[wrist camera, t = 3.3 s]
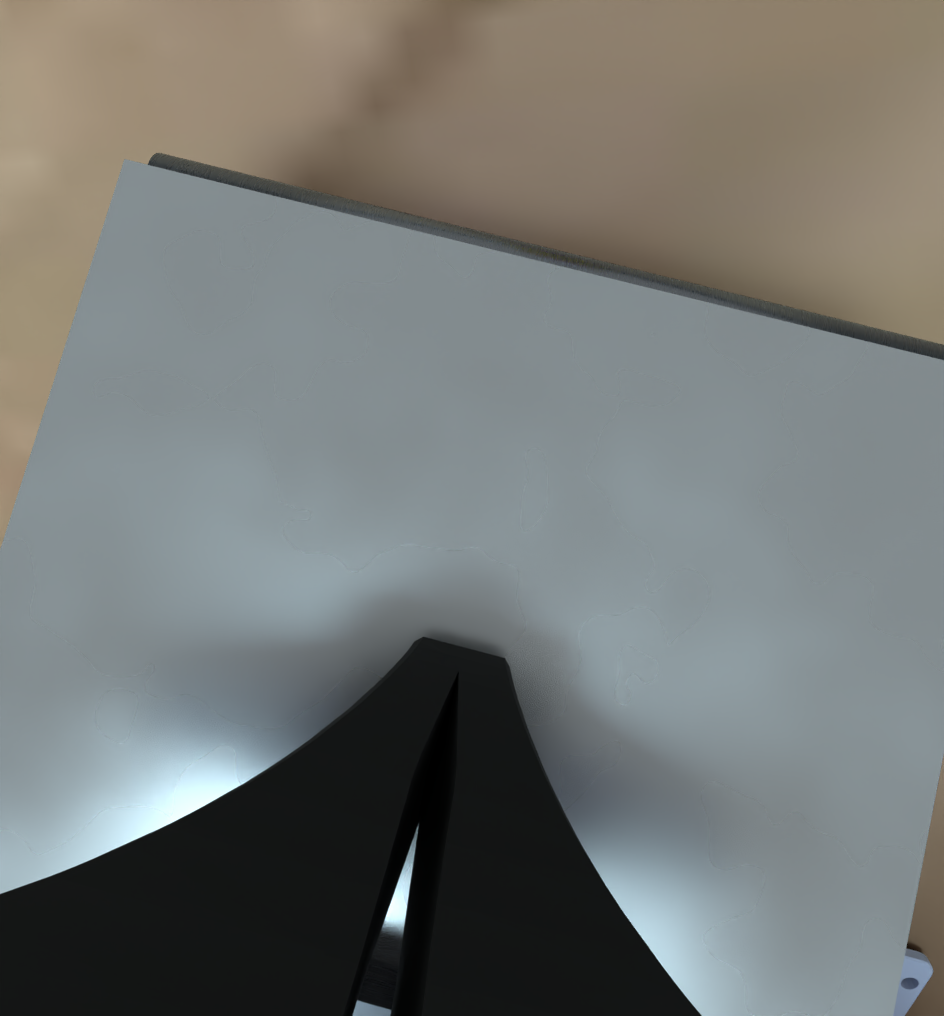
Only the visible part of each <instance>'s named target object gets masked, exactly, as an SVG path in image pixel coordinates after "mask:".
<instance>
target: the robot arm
mask: <svg viewBox="0 0 944 1016" xmlns="http://www.w3.org/2000/svg"><path fill="white" fill-rule="evenodd" d="M418 824H419V826H418ZM417 827H418V833H417V840H416V847H415V854H414V861H413V868H412V875H411V882H410V889H409V896H408V903H407V910H406V917H405V924H404V931H403V938H402V945H401V952H400V959H399V966H398V973H397V981H396V987H395V993H394V998H393V1004H392V1009H391V1015H390V1016H702V1015H701V1014H700V1013H699V1012H698V1011H697V1009H696V1008H695V1007H694V1006H693V1005H692V1003H691V1002H690V1001H689V1000H688V999H687V997H686V996H685V995H684V994H683V992H682V991H681V990H680V988H679V987H678V986H677V985H676V983H675V982H674V981H673V979H672V978H671V977H670V976H669V974H668V973H667V972H666V970H665V969H664V968H663V966H662V965H661V963H660V962H659V961H658V959H657V958H656V957H655V955H654V954H653V952H652V951H651V950H650V948H649V947H648V946H647V944H646V943H645V941H644V940H643V939H642V937H641V936H640V934H639V933H638V932H637V930H636V929H635V928H634V926H633V925H632V923H631V922H630V921H629V919H628V918H627V916H626V915H625V914H624V912H623V911H622V910H621V908H620V906H619V905H618V903H617V902H616V900H615V899H614V897H613V896H612V894H611V892H610V891H609V889H608V888H607V886H606V885H605V883H604V882H603V880H602V878H601V877H600V875H599V873H598V872H597V870H596V868H595V867H594V865H593V863H592V861H591V860H590V858H589V856H588V855H587V853H586V851H585V850H584V848H583V846H582V844H581V842H580V841H579V839H578V837H577V835H576V833H575V832H574V830H573V828H572V826H571V824H570V822H569V820H568V818H567V816H566V814H565V812H564V810H563V808H562V806H561V804H560V802H559V800H558V798H557V796H556V794H555V792H554V790H553V787H552V785H551V783H550V781H549V779H548V776H547V774H546V772H545V770H544V767H543V765H542V763H541V760H540V758H539V755H538V753H537V750H536V748H535V745H534V743H533V740H532V738H531V735H530V733H529V730H528V727H527V725H526V722H525V719H524V716H523V713H522V710H521V707H520V704H519V701H518V698H517V694H516V691H515V687H514V683H513V679H512V675H511V671H510V666H509V665H508V663H507V661H506V659H505V658H503V657H499V656H495V655H492V654H488V653H484V652H480V651H476V650H472V649H469V648H465V647H461V646H457V645H453V644H450V643H446V642H442V641H438V640H434V639H431V638H427V637H422V638H420V639H418V640H416V641H414V643H413V644H412V645H411V647H410V648H409V649H408V651H407V652H406V653H405V654H404V655H403V657H402V658H401V659H400V660H399V661H398V662H397V663H396V664H395V665H394V667H393V668H392V669H391V670H390V671H389V672H388V673H387V674H386V675H385V676H384V677H383V678H382V679H381V680H380V681H379V682H378V683H376V684H375V685H374V686H373V687H372V688H371V689H370V690H369V691H368V692H367V693H365V694H364V695H363V696H362V697H361V698H360V699H359V700H358V701H357V702H356V703H355V704H353V705H352V706H351V707H350V708H349V709H348V710H346V711H345V712H344V713H343V714H341V715H340V716H339V717H338V718H336V719H335V720H334V721H333V722H331V723H330V724H329V725H327V726H326V727H325V728H324V729H322V730H321V731H320V732H319V733H317V734H316V735H315V736H313V737H312V738H311V739H310V740H308V741H307V742H306V743H304V744H303V745H301V746H300V747H299V748H297V749H296V750H294V751H293V752H291V753H290V754H289V755H287V756H286V757H284V758H283V759H281V760H280V761H278V762H277V763H275V764H274V765H272V766H271V767H269V768H267V769H266V770H264V771H263V772H261V773H260V774H258V775H256V776H255V777H253V778H252V779H250V780H248V781H247V782H245V783H243V784H242V785H240V786H238V787H236V788H235V789H233V790H231V791H229V792H227V793H226V794H224V795H222V796H220V797H219V798H217V799H215V800H213V801H212V802H210V803H208V804H206V805H205V806H203V807H201V808H199V809H197V810H195V811H193V812H192V813H190V814H188V815H186V816H184V817H182V818H180V819H178V820H176V821H174V822H172V823H170V824H168V825H166V826H164V827H162V828H160V829H158V830H155V831H153V832H151V833H149V834H146V835H144V836H142V837H140V838H138V839H135V840H133V841H131V842H129V843H127V844H124V845H122V846H120V847H118V848H116V849H113V850H111V851H109V852H107V853H105V854H102V855H100V856H98V857H96V858H94V859H91V860H89V861H87V862H84V863H82V864H79V865H77V866H75V867H72V868H70V869H67V870H65V871H62V872H59V873H57V874H54V875H52V876H49V877H46V878H44V879H41V880H38V881H35V882H32V883H30V884H27V885H24V886H21V887H18V888H15V889H13V890H10V891H7V892H4V893H1V894H0V1016H353V1013H354V1010H355V1006H356V1003H357V1000H358V997H359V994H360V990H361V987H362V984H363V981H364V977H365V974H366V972H367V969H368V966H369V963H370V960H371V957H372V955H373V952H374V949H375V946H376V943H377V940H378V938H379V935H380V932H381V929H382V926H383V923H384V921H385V918H386V915H387V912H388V909H389V906H390V904H391V901H392V898H393V895H394V892H395V889H396V887H397V884H398V881H399V878H400V875H401V872H402V869H403V867H404V864H405V861H406V858H407V855H408V852H409V850H410V847H411V844H412V841H413V838H414V835H415V832H416V830H417ZM932 973H933V968H932V966H931V964H930V962H929V960H928V958H927V957H926V956H925V955H924V954H923V953H920V952H918V951H914V950H910V949H907V948H906V952H905V957H904V962H903V967H902V972H901V978H900V983H899V988H898V993H897V998H896V1004H895V1009H894V1014H893V1016H905V1014H906V1013H907V1011H908V1010H909V1009H910V1007H911V1006H912V1004H913V1003H914V1001H915V1000H916V998H917V997H918V995H919V994H920V992H921V991H922V989H923V988H924V986H925V985H926V983H927V982H928V980H929V979H930V977H931V976H932Z"/></svg>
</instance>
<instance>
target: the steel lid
mask: <svg viewBox="0 0 944 1016" xmlns="http://www.w3.org/2000/svg"><path fill="white" fill-rule="evenodd" d="M422 637H427V638H431V639H434V640H438V641H442V642H446V643H450V644H453V645H457V646H461V647H465V648H469V649H472V650H476V651H480V652H484V653H488V654H492V655H495V656H499V657H503V658H505V659H506V661H507V663H508V665H509V666H510V671H511V675H512V679H513V683H514V687H515V691H516V694H517V698H518V701H519V704H520V707H521V710H522V713H523V716H524V719H525V722H526V725H527V727H528V730H529V733H530V735H531V738H532V740H533V743H534V745H535V748H536V750H537V753H538V755H539V758H540V760H541V763H542V765H543V767H544V770H545V772H546V774H547V776H548V779H549V781H550V783H551V785H552V787H553V790H554V792H555V794H556V796H557V798H558V800H559V802H560V804H561V806H562V808H563V810H564V812H565V814H566V816H567V818H568V820H569V822H570V824H571V826H572V828H573V830H574V832H575V833H576V835H577V837H578V839H579V841H580V842H581V844H582V846H583V848H584V850H585V851H586V853H587V855H588V856H589V858H590V860H591V861H592V863H593V865H594V867H595V868H596V870H597V872H598V873H599V875H600V877H601V878H602V880H603V882H604V883H605V885H606V886H607V888H608V889H609V891H610V892H611V894H612V896H613V897H614V899H615V900H616V902H617V903H618V905H619V906H620V908H621V910H622V911H623V912H624V914H625V915H626V916H627V918H628V919H629V921H630V922H631V923H632V925H633V926H634V928H635V929H636V930H637V932H638V933H639V934H640V936H641V937H642V939H643V940H644V941H645V943H646V944H647V946H648V947H649V948H650V950H651V951H652V952H653V954H654V955H655V957H656V958H657V959H658V961H659V962H660V963H661V965H662V966H663V968H664V969H665V970H666V972H667V973H668V974H669V976H670V977H671V978H672V979H673V981H674V982H675V983H676V985H677V986H678V987H679V988H680V990H681V991H682V992H683V994H684V995H685V996H686V997H687V999H688V1000H689V1001H690V1002H691V1003H692V1005H693V1006H694V1007H695V1008H696V1009H697V1011H698V1012H699V1013H700V1014H701V1015H702V1016H893V1014H894V1009H895V1004H896V998H897V993H898V988H899V983H900V978H901V972H902V967H903V962H904V957H905V952H906V947H907V941H908V936H909V931H910V926H911V921H912V915H913V910H914V905H915V900H916V895H917V889H918V884H919V879H920V874H921V869H922V864H923V858H924V853H925V848H926V843H927V838H928V832H929V827H930V822H931V817H932V812H933V807H934V801H935V796H936V791H937V786H938V781H939V775H940V770H941V765H942V760H943V755H944V345H942V344H938V343H934V342H930V341H926V340H922V339H918V338H914V337H910V336H906V335H902V334H898V333H893V332H889V331H885V330H881V329H877V328H873V327H869V326H865V325H861V324H857V323H853V322H849V321H844V320H840V319H836V318H832V317H828V316H824V315H820V314H816V313H812V312H808V311H804V310H800V309H795V308H791V307H787V306H783V305H779V304H775V303H771V302H767V301H763V300H759V299H755V298H750V297H746V296H742V295H738V294H734V293H730V292H726V291H722V290H718V289H714V288H710V287H706V286H701V285H697V284H693V283H689V282H685V281H681V280H677V279H673V278H669V277H665V276H661V275H657V274H652V273H648V272H644V271H640V270H636V269H632V268H628V267H624V266H620V265H616V264H612V263H608V262H603V261H599V260H595V259H591V258H587V257H583V256H579V255H575V254H571V253H567V252H563V251H558V250H554V249H550V248H546V247H542V246H538V245H534V244H530V243H526V242H522V241H518V240H514V239H509V238H505V237H501V236H497V235H493V234H489V233H485V232H481V231H477V230H473V229H469V228H465V227H460V226H456V225H452V224H448V223H444V222H440V221H436V220H432V219H428V218H424V217H420V216H415V215H411V214H407V213H403V212H399V211H395V210H391V209H387V208H383V207H379V206H375V205H371V204H366V203H362V202H358V201H354V200H350V199H346V198H342V197H338V196H334V195H330V194H326V193H322V192H317V191H313V190H309V189H305V188H301V187H297V186H293V185H289V184H285V183H281V182H277V181H273V180H268V179H264V178H260V177H256V176H252V175H248V174H244V173H240V172H236V171H232V170H228V169H223V168H219V167H215V166H211V165H207V164H203V163H199V162H195V161H191V160H187V159H183V158H179V157H174V156H170V155H166V154H162V153H156V154H154V155H153V156H152V157H151V159H150V161H149V163H148V165H146V164H142V163H138V162H134V161H130V160H126V159H124V163H123V166H122V169H121V172H120V175H119V178H118V181H117V185H116V188H115V191H114V194H113V197H112V200H111V203H110V207H109V210H108V213H107V216H106V219H105V222H104V225H103V229H102V232H101V235H100V238H99V241H98V244H97V247H96V251H95V254H94V257H93V260H92V263H91V266H90V269H89V273H88V276H87V279H86V282H85V285H84V288H83V291H82V295H81V298H80V301H79V304H78V307H77V310H76V313H75V317H74V320H73V323H72V326H71V329H70V332H69V335H68V339H67V342H66V345H65V348H64V351H63V354H62V357H61V361H60V364H59V367H58V370H57V373H56V376H55V379H54V383H53V386H52V389H51V392H50V395H49V398H48V401H47V405H46V408H45V411H44V414H43V417H42V420H41V423H40V427H39V430H38V433H37V436H36V439H35V442H34V445H33V449H32V452H31V455H30V458H29V461H28V464H27V467H26V471H25V474H24V477H23V480H22V483H21V486H20V489H19V493H18V496H17V499H16V502H15V505H14V508H13V511H12V515H11V518H10V521H9V524H8V527H7V530H6V533H5V537H4V540H3V543H2V546H1V549H0V894H1V893H4V892H7V891H10V890H13V889H15V888H18V887H21V886H24V885H27V884H30V883H32V882H35V881H38V880H41V879H44V878H46V877H49V876H52V875H54V874H57V873H59V872H62V871H65V870H67V869H70V868H72V867H75V866H77V865H79V864H82V863H84V862H87V861H89V860H91V859H94V858H96V857H98V856H100V855H102V854H105V853H107V852H109V851H111V850H113V849H116V848H118V847H120V846H122V845H124V844H127V843H129V842H131V841H133V840H135V839H138V838H140V837H142V836H144V835H146V834H149V833H151V832H153V831H155V830H158V829H160V828H162V827H164V826H166V825H168V824H170V823H172V822H174V821H176V820H178V819H180V818H182V817H184V816H186V815H188V814H190V813H192V812H193V811H195V810H197V809H199V808H201V807H203V806H205V805H206V804H208V803H210V802H212V801H213V800H215V799H217V798H219V797H220V796H222V795H224V794H226V793H227V792H229V791H231V790H233V789H235V788H236V787H238V786H240V785H242V784H243V783H245V782H247V781H248V780H250V779H252V778H253V777H255V776H256V775H258V774H260V773H261V772H263V771H264V770H266V769H267V768H269V767H271V766H272V765H274V764H275V763H277V762H278V761H280V760H281V759H283V758H284V757H286V756H287V755H289V754H290V753H291V752H293V751H294V750H296V749H297V748H299V747H300V746H301V745H303V744H304V743H306V742H307V741H308V740H310V739H311V738H312V737H313V736H315V735H316V734H317V733H319V732H320V731H321V730H322V729H324V728H325V727H326V726H327V725H329V724H330V723H331V722H333V721H334V720H335V719H336V718H338V717H339V716H340V715H341V714H343V713H344V712H345V711H346V710H348V709H349V708H350V707H351V706H352V705H353V704H355V703H356V702H357V701H358V700H359V699H360V698H361V697H362V696H363V695H364V694H365V693H367V692H368V691H369V690H370V689H371V688H372V687H373V686H374V685H375V684H376V683H378V682H379V681H380V680H381V679H382V678H383V677H384V676H385V675H386V674H387V673H388V672H389V671H390V670H391V669H392V668H393V667H394V665H395V664H396V663H397V662H398V661H399V660H400V659H401V658H402V657H403V655H404V654H405V653H406V652H407V651H408V649H409V648H410V647H411V645H412V644H413V643H414V641H416V640H418V639H420V638H422ZM418 826H419V824H418ZM417 833H418V827H417V830H416V832H415V835H414V838H413V841H412V844H411V847H410V850H409V852H408V855H407V858H406V861H405V864H404V867H403V869H402V872H401V875H400V878H399V881H398V884H397V887H396V889H395V892H394V895H393V898H392V901H391V904H390V906H389V909H388V912H387V915H386V918H385V921H384V923H383V926H382V929H381V932H380V935H379V938H378V940H377V943H376V946H375V949H374V952H373V955H372V957H371V960H370V963H369V966H368V969H367V972H366V974H365V977H364V981H363V984H362V987H361V990H360V994H359V997H358V1000H357V1003H356V1006H355V1010H354V1013H353V1016H390V1015H391V1009H392V1004H393V998H394V993H395V987H396V981H397V973H398V966H399V959H400V952H401V945H402V938H403V931H404V924H405V917H406V910H407V903H408V896H409V889H410V882H411V875H412V868H413V861H414V854H415V847H416V840H417Z"/></svg>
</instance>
